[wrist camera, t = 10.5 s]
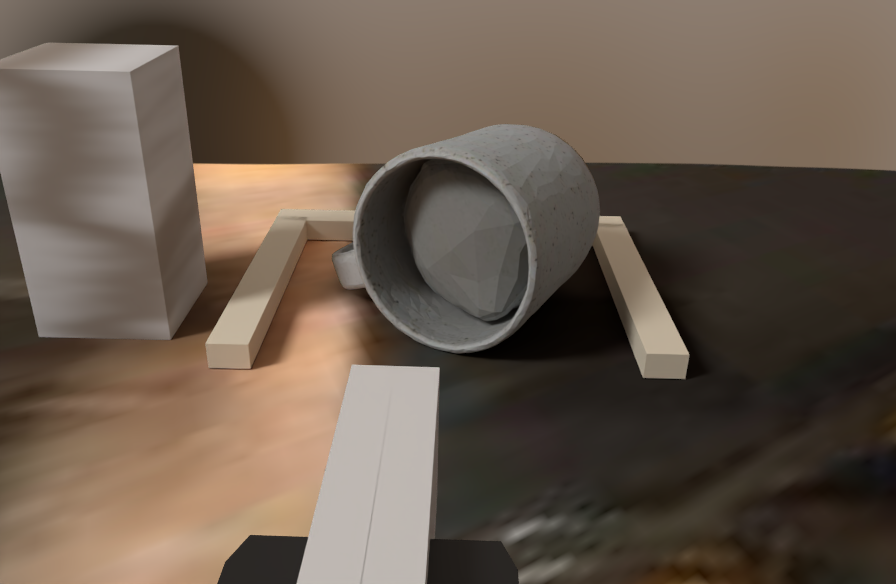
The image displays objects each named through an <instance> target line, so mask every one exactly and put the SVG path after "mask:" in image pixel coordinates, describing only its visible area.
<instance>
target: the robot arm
mask: <svg viewBox="0 0 896 584" xmlns="http://www.w3.org/2000/svg"><path fill="white" fill-rule="evenodd" d="M438 419H439V368H438V367H406V366H374V365H352V367H351V371H350V375H349V378H348V382H347V386H346V390H345V394H344V398H343V402H342V406H341V410H340V414H339V418H338V422H337V426H336V430H335V434H334V438H333V442H332V446H331V450H330V454H329V457H328V461H327V465H326V469H325V473H324V477H323V481H322V485H321V489H320V493H319V497H318V501H317V505H316V509H315V513H314V517H313V521H312V525H311V529H310V533H309V536H308V537H292V536H263V535H250V536H249V537H248V538H247V539H246V540H245V541H244V542H243V543H242V544H241V545H240V547H239V548H238V549H237V550H236V551H235V552H234V553H233V554H232V555H231V556H230V557H229V559H228V560H227V561H226V562H225V564H224V567H223V570H222V572H221V575H220V578H219V581H218V583H217V584H519V581H518V569H517V568H516V566H515V564H514V563H513V561H512V559H511V558H510V556H509V554H508V552H507V551H506V549H505V547H504V546H503V544H502V542H501V541H474V540H445V539H435V521H436V503H437V471H438Z"/></svg>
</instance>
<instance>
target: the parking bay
mask: <svg viewBox="0 0 896 584" xmlns="http://www.w3.org/2000/svg"><path fill="white" fill-rule="evenodd" d="M354 214H355V211H351V210H307V209H281V210H280V212H279V214H278V216H277V217H276V219H275V221H274V223H273V225H272V226H271V228H270V230H269V232H268V233H267V235H266V237H265V239H264V241H263V242H262V244H261V246H260V248H259V249H258V251H257V253H256V255H255V256H254V258H253V260H252V262H251V264H250V265H249V267H248V269H247V271H246V272H245V274H244V276H243V278H242V280H241V281H240V283H239V285H238V287H237V288H236V290H235V292H234V294H233V296H232V297H231V299H230V301H229V303H228V304H227V306H226V308H225V310H224V312H223V313H222V315H221V317H220V319H219V320H218V322H217V324H216V326H215V328H214V329H213V331H212V333H211V335H210V336H209V338H208V340H207V342H206V352H207V359H208V367H209V368H233V369H251V367H252V365H253V362H254V360H255V358H256V356H257V353H258V351H259V349H260V346H261V344H262V342H263V340H264V337H265V335H266V333H267V330H268V328H269V326H270V324H271V321H272V319H273V317H274V314H275V312H276V310H277V308H278V305H279V303H280V301H281V298H282V296H283V294H284V292H285V289H286V287H287V285H288V282H289V280H290V278H291V276H292V273H293V271H294V269H295V266H296V264H297V262H298V260H299V257H300V255H301V253H302V250H303V248H304V246H305V244H306V241H307V240H349V241H353V222H354ZM592 246H593V248H594V250H595V253H596V256H597V258H598V261H599V263H600V266H601V269H602V271H603V274H604V277H605V279H606V282H607V284H608V287H609V290H610V292H611V295H612V298H613V300H614V303H615V305H616V308H617V311H618V313H619V316H620V319H621V321H622V324H623V326H624V329H625V332H626V334H627V337H628V340H629V342H630V345H631V347H632V350H633V353H634V355H635V358H636V361H637V363H638V366H639V368H640V371H641V374H642V376H643V378H668V379H685V377H686V372H687V366H688V360H689V353H688V351H687V349H686V347H685V345H684V343H683V341H682V339H681V337H680V335H679V333H678V331H677V329H676V327H675V325H674V323H673V321H672V319H671V317H670V315H669V313H668V311H667V309H666V307H665V305H664V303H663V301H662V299H661V297H660V295H659V293H658V291H657V289H656V287H655V285H654V283H653V281H652V279H651V277H650V275H649V273H648V271H647V269H646V267H645V265H644V263H643V261H642V259H641V257H640V255H639V253H638V251H637V249H636V247H635V245H634V243H633V241H632V239H631V237H630V235H629V233H628V231H627V229H626V227H625V225H624V223H623V221H622V219H621V217H617V216H600V217H599V224H598V230H597V233H596V237H595V239H594V242H593V244H592Z"/></svg>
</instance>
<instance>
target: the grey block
mask: <svg viewBox="0 0 896 584" xmlns="http://www.w3.org/2000/svg"><path fill="white" fill-rule="evenodd" d="M0 172H1V177H2V181H3V185H4V189H5V194H6V198H7V202H8V207H9V211H10V215H11V219H12V224H13V228H14V232H15V236H16V241H17V245H18V249H19V253H20V258H21V262H22V266H23V270H24V275H25V279H26V283H27V287H28V292H29V296H30V300H31V305H32V309H33V313H34V317H35V322H36V326H37V330H38V334H39V337H67V338H109V339H152V340H171V339H172V337H173V336H174V334H175V333H176V331H177V329H178V328H179V326H180V325H181V323H182V322H183V320H184V319H185V317H186V316H187V314H188V312H189V311H190V309H191V308H192V306H193V305H194V303H195V302H196V300H197V299H198V297H199V295H200V294H201V292H202V291H203V289H204V288H205V286H206V285H207V283H208V282H207V274H206V266H205V258H204V250H203V242H202V234H201V226H200V218H199V210H198V202H197V194H196V186H195V178H194V169H193V162H192V153H191V145H190V138H189V129H188V121H187V113H186V105H185V97H184V90H183V82H182V73H181V65H180V57H179V49H178V46H167V45H165V46H164V45H122V44H121V45H120V44H80V43H45V44H42V45H39V46H36V47H34V48H31V49H28V50H25V51H22V52H20V53H17V54H14V55H11V56H9V57H6V58H3V59H1V60H0Z"/></svg>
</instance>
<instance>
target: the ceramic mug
mask: <svg viewBox="0 0 896 584" xmlns="http://www.w3.org/2000/svg"><path fill="white" fill-rule="evenodd" d="M599 217H600V207H599V197H598V192H597V188H596V185H595V182H594V179H593V176H592V174H591V173H590V171H589V169H588V167H587V165H586V164H585V162H584V160H583V158H582V157H581V156H580V155H579V154H578V153H577V152H576V150H574V149H573V148H572V147H571V146H570V145H569V144H568V143H567V142H565V141H564V140H562V139H561V138H559V137H558V136H557V135H555V134H552V133H550V132H547V131H545V130H542V129H540V128H536V127H531V126H526V125H510V124H503V125H494V126H489V127H485V128H483V129H479V130H476V131H473V132H470V133H467V134H465V135H462V136H458V137H455V138H451V139H448V140H444V141H440V142H437V143H433V144H430V145H426V146H423V147H419V148H415V149H412V150H409V151H407V152H405V153H403V154H401V155H399V156H397V157H395V158H393V159H392V160H391V161H389V162H388V163H386V164H385V165H384V166H383V167H382V168H381V169H380V170H379V171H378V172H377V173H376V174H375V175H374V176H373V177H372V178H371V179H370V181H369V182H368V183H367V185H366V187H365V189H364V191H363V193H362V196H361V198H360V200H359V202H358V205H357V207H356V211H355V214H354V222H353V242H352V243H351V244H349V245H347V246H345V247H343V248H341V249H339V250H338V251H336V252H335V253H333V254H332V261H333V264H334V267H335V270H336V272H337V275H338V278H339V281H340V283H341V284H342V286H343V288H345V289H350V290H353V289H358V288H366V289H367V292H368V294H369V295H370V297H371V298H372V300H373V301H374V303H375V305H376V306H377V308H378V309H379V310H380V311H381V312H382V314H383V315H384V316H385V317H386V318H387V319H388V320H389V321H390V322H391V323H392V324H393V325H394V326H395V327H396V328H397V329H398V330H400V331H401V332H403V333H405V334H406V335H408V336H409V337H411V338H412V339H414V340H415V341H417V342H420V343H422V344H424V345H426V346H429V347H431V348H434V349H438V350H442V351H447V352H451V353H472V352H478V351H483V350H486V349H489V348H492V347H494V346H495V345H497V344H499V343H501V342H502V341H504V340H505V339H507V338H509V337H510V336H511V335H513V334H514V333H515V332H516V331H517V330H518V329H519V328H520V327H521V326H522V325H523V324H524V323H525V322H526V321H527V320H528V319H529V318H530V316H531V315H533V314H534V313H535V312H536V311H537V310H538V309H539V308H540V307H541V306H542V305H543V304H544V303H545V302H546V301H547V299H548V298H549V297H550V296H551V295H552V294H553V293H554V292H555V291H556V290H557V289H558V288H559V287H560V286H561V285H562V284H564V283H565V282H566V281H567V280H568V279H569V278H570V277H571V276H572V275H573V274H574V273H575V272H576V271H577V270H578V268H579V267H580V265H581V264H582V262H583V261H584V259H585V258H586V256H587V254H588V252H589V250H590V248H591V246H592V244H593V242H594V239H595V237H596V233H597V230H598V224H599Z"/></svg>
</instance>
